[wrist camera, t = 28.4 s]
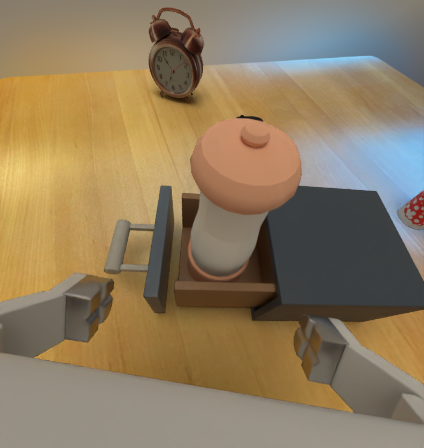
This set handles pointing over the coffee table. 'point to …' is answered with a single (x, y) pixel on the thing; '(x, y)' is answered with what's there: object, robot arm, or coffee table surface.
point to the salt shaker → (237, 193)
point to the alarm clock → (175, 57)
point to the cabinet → (338, 259)
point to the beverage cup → (413, 212)
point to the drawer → (186, 285)
